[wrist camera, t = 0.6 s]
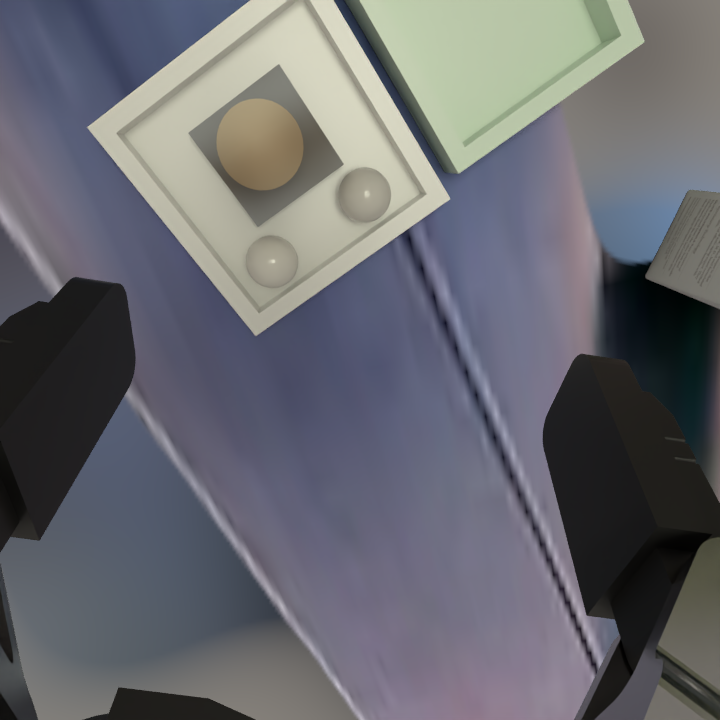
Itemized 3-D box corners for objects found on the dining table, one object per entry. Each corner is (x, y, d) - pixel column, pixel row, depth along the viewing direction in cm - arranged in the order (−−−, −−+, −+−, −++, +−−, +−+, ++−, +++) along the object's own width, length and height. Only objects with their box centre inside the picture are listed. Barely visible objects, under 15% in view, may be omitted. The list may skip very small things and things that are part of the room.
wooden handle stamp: (191, 133, 31) (148, 123, 21) (279, 67, 30) (275, 26, 21) (258, 224, 33) (247, 251, 24) (342, 164, 32) (364, 166, 23)
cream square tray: (102, 129, 31) (87, 127, 29) (305, -29, 30) (307, -45, 28) (257, 324, 36) (255, 336, 34) (439, 196, 35) (450, 198, 32)
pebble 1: (237, 251, 33) (232, 260, 31) (277, 222, 33) (276, 227, 30) (268, 291, 34) (266, 303, 32) (307, 263, 34) (309, 272, 31)
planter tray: (331, -22, 30) (336, -41, 27) (521, -168, 29) (546, -203, 26) (444, 172, 34) (458, 173, 32) (614, 51, 33) (644, 41, 30)
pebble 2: (325, 186, 33) (329, 189, 30) (368, 156, 33) (375, 156, 30) (354, 229, 34) (360, 236, 31) (396, 200, 34) (405, 204, 31)
